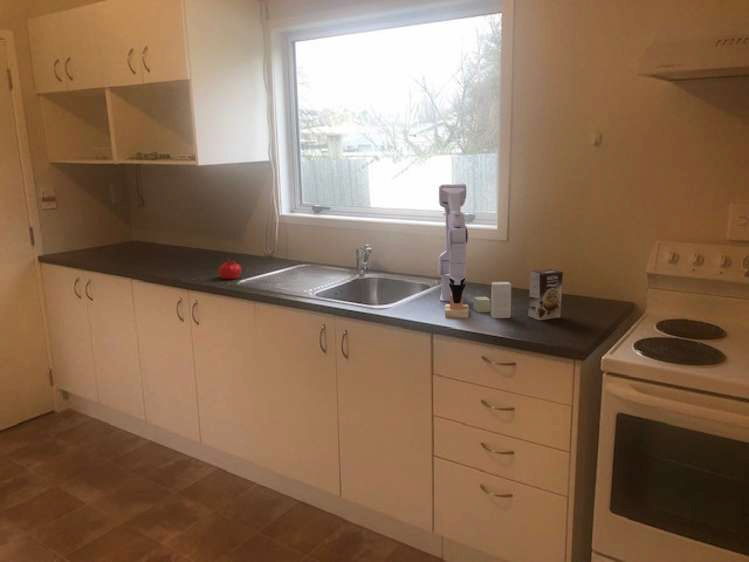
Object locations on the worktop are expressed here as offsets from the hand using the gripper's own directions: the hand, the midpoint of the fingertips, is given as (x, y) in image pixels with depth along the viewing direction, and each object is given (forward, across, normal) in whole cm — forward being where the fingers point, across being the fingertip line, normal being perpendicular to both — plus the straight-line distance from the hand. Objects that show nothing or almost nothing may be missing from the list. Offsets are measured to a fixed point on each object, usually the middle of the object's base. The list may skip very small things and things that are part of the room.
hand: (456, 300), depth 217 cm
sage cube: (+5, -6, +9) cm, 12 cm away
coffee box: (+5, +1, +30) cm, 30 cm away
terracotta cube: (+2, 0, 0) cm, 3 cm away
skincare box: (+5, +2, +15) cm, 16 cm away
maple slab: (+6, 0, 0) cm, 6 cm away
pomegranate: (+5, -52, -101) cm, 114 cm away
